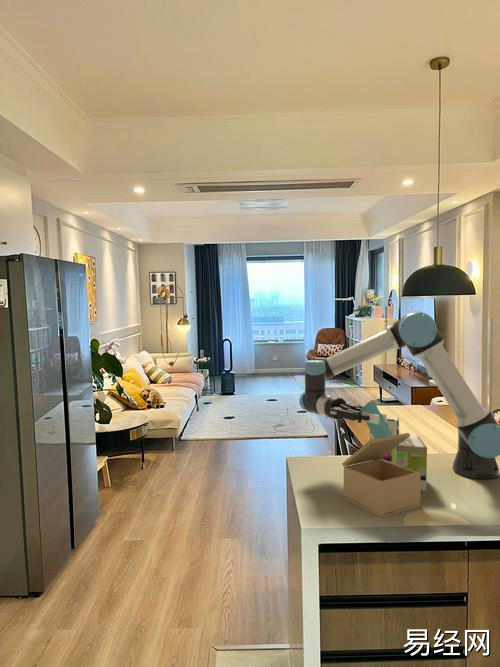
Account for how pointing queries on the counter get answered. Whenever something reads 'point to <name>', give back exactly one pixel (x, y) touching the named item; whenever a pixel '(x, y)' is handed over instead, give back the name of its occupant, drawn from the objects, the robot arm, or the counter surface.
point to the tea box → (412, 457)
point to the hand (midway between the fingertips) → (382, 419)
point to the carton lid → (376, 439)
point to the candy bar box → (394, 428)
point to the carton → (382, 487)
